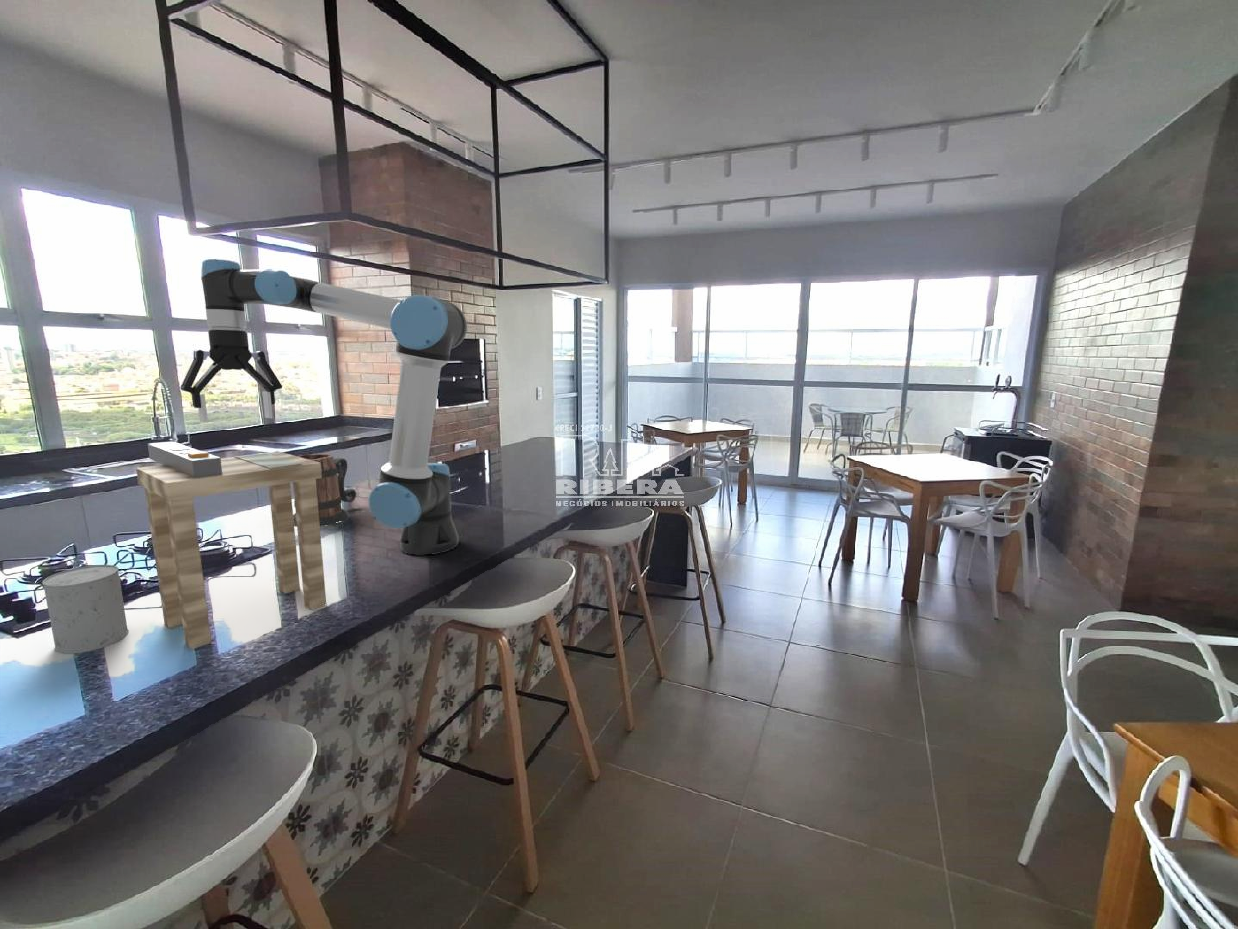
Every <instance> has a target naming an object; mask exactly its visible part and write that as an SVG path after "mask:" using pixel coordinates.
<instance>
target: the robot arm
mask: <svg viewBox="0 0 1238 929" xmlns="http://www.w3.org/2000/svg"><path fill="white" fill-rule="evenodd" d="M200 268H201V269H200V270H201V272H200V273H201V276H200V278H201V279H200V280H201V284H202V291H203V295H204V296H203V297H204V304H205V305H204V306H205V307H204V308H205V314H206V322H207V324H206V325H207V327H208V328H210V329H209V330H208V332H207V333H208V341H209V351H206V350H202V349H194V350H193V360H192V362H191V364H190V366H189V368H188V370H187V373H186V375H185V377H184V379H183V380H182V383H181V385H180V390H181V391H183V392H188V393H190V395H191V400H192V401H191V402H192V406H193V408H194V409H198V417H199V422H200V423H209V419H208V411H207V403H206V394H205V393H201V392H202V391H203V390H204V389H205V388H206V387H207V385H208V384H210V382H211V381H212V379H213V378H214V377H215V376H216V375H217V374H218V373H219V372H220V371H221V370H225V371H231V370H237V371H241V370H243V371H244V372H246V373H247V374H248V375H249V376H250V377H251V378H252V379H254V380H255V381H256V382H257V383H258V384H259V385H260V386H261V387H262V388H263V389H265V390H264V391H262V401H263V402H262V403H263V411H264V412H263V413H264V418H266V419H273V418H274V417H273V408H272V407H273V406H272V405H275V404H276V397H275V392H276V391H277V390H280V389H282V388H283V384H282V383H281V382H280V380H279V379H278V377H277V376H276V373H275V372H274V371H273V369H272V367H271V366H270V365H269V363H268V361H267V359H266V355H265V352H264V351H262V350H258V351H257V350H256V351H252V352H251V351H250V348H249V347H250V345H249V338H248V332H247V331H246V330H245V329H247V328H248V327H247V319H246V318H247V317H246V311H245V310H246V308H245V305H246V304H247V305H248V304H251V305H252V304H254V305H270V306H277V307H285V308H293V309H297V310H304V311H308V312H312V313H318V314H322V315H327V316H331V317H334V318H335V317H336V318H340V319H344V320H349V321H353V322H358V323H362V324H367V325H369V326H370V325H372V326H376V327H380V328H382V329H383V328H384V329H388V330H391V334H393V336H394V339H395V340H396V346H395V353H396V355H397V356H398V357H399V359H400V360H401V365H400V373H399V379H398V380H399V381H398V387H397V397H396V405H395V411H394V412H395V413H394V419H393V427H392V436H391V442H390V452H389V458H388V461H387V462H386V463H385V464H383V465H382V466H381V469H380V475H379V482H378V484H377V485H376V486H375V487H373V489H372V490H371V492H370V493H369V496H368V507H369V510H370V514H371V515H372V516H373V518H375V519H376V521H377V522H378V523H380V524H381V525H383V526H385V527H386V528H391V529H396V530H398V529H402V532H401V537H400V539H399V548H400V549H401V550H400V551H401V552H402V551H403V552H402V553H404V552H407V553H409V554H408V555H411V554H416V555H415V556H424V555H423V554H432V553H437V552H443V551H446V550H449V549H451V548H453V547H454V546H457V545H458V543H459V544H460V539H459V538H460V537H459V534H458V531H457V527H456V526H455V523H454V521H453V517H452V499H451V498H452V495H451V475H450V467H449V466H448V464H446V463H441V462H429V456H430V455H429V454H430V449H431V448H430V447H431V440H432V435H433V434H432V433H433V426H434V420H435V419H434V418H435V414H436V413H435V412H436V404H437V398H438V390H439V386H440V384H439V383H440V376H441V370H442V368H443V367H444V366H445V365H446V364H448V363H449V362H450V356H451V350H453V349H455V348H456V347H458V346H459V345H460V344H461V343H462V342H463V341H464V339H466V335H467V332H468V324H467V323H468V321H467V319H466V316H465V315H464V312H463V311H462V310H461V309H460V308H459V307H458V306H457V305H455V304H454V303H452V302H450V301H447V300H442V299H439V298H436V297H434V296H430V295H423V294H415V295H409V296H407V297H404V298H402V299H398V298H393V297H388V296H384V295H379V294H374V293H370V292H366V291H362V290H356V289H352V288H346V287H343V286H339V285H333V284H330V283H324V282H320V281H316V280H315V281H314V280H312V279H308V278H301V277H296V276H291V275H289V273H288V272H286V270H285V271H284V270H280V269H271V268H267V269H241V264H240V263H238V262H237V261H235V260H229V259H224V258H223V259H222V258H221V259H219V258H204V259H203V260H202V261H201V262H200ZM208 357H209V359H211V361H213V362H212V364H210V366H209V367H208V369H207V370H206V371H205V372H204V374H203V375H202V376H201V377H200V378H199V379H198V380H197V381H196V383H195V380H196V378H197V376H198V374H199V372H200V370H201V367H202V366H203V363H204V361H206V360H207V358H208ZM251 359H253V360H254V361H256V363H257V364H258V366H259V367H260V369H261V371H262V372H263V373H264V375H265V377H266V378H267V379H265V378H264V376H263V375H262V374H261V373H260V372H258V371H257V370H256V368H255V367H254V366H252V364H251V363H250V360H251ZM194 383H195V384H194ZM458 546H459V545H458ZM417 554H418V555H417Z"/></svg>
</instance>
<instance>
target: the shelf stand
mask: <svg viewBox="0 0 1238 929" xmlns="http://www.w3.org/2000/svg"><path fill="white" fill-rule="evenodd" d="M297 456H298V455H293V454H290V453H285V452H282V451H278V452H276V451H275V452H269V453H268V452H267V453H265V452H264V453H255V454H254V453H253V454H246V455H237V456H233V457H223V458H221V467H222V475H216V476H208V477H200V478H193V477H190V476H188V475H186V474H184V473H181V472H179V471H177V470H174V469H172V468H170V467H167V466H165V465H163V464H161V465H160V464H159V465H153V466H152V465H151V466H150V465H149V466H142V467H136V468H135V472H136V477H137V483H138V485H139V486H141V487H142V488H144V491H145V498H146V507H147V513H148V521H149V528H150V534H151V539H152V546H153V548H152V549H153V554H154V560H155V568H156V573H157V580H158V581H157V582H158V587H159V588H158V590H159V594H160V601H161V602H160V603H161V609H162V616H163V622H164V624H165V625H166V627H167V628H169V629H173V628H176V627H179V626H182V629H183V636H184V638H183V639H184V644H185V645H186V646H187V647H188V649H190V650H194V649H196V648H200V647H203V646H206V645H208V644H209V645H210V644H211V643H212V636H211V629H210V628H211V627H210V621H209V620H210V619H209V614H208V606H207V597H206V589H205V584H204V583H205V582H204V574H203V566H202V560H201V551H200V543H199V537H198V536H199V535H198V529H197V528H198V527H197V520H196V513H195V512H196V511H195V506H194V498H199V497H205V496H212V495H219V494H224V493H225V494H226V493H232V492H237V491H238V492H239V491H244V490H245V491H246V490H249V489H250V490H251V489H257V488H264V487H268V490H269V491H268V493H269V501H270V510H271V520H272V522H271V523H272V531H273V533H272V534H273V540H274V542H273V543H274V552H275V558H276V560H275V561H276V570H277V571H276V572H277V579H278V589H279V591H280V592H282V593H284V594H285V595H286V594H288V593H289V594H290V593H292V592H295V591H300V590H301V585H302V593H303V594H302V595H303V604H304V607H305V608H308V609H309V608H310V609H309V610H311V609H312V610H314V609H313V608H315V609H317V608H316V607H318V608H320V606H321V607H323V605H324V606H326V605H327V597H326V596H327V595H326V585H325V583H326V582H325V573H324V562H323V560H324V559H323V550H322V537H321V528H320V527H321V526H320V524H319V512H318V500H317V488H316V479H317V478H322V475H321V463H319V462H316V461H312V460H308V459H305V458H301V457H297ZM291 483H292V486H293V495H294V501H295V507H294V508H295V513H296V520H297V527H296V529H297V530H296V529H295V526H294V519H293V515H294V512H293V502H292V501H293V499H292V489H291V488H292V487H291ZM295 530H296V531H297V539H298V540H297V541H296V532H295ZM297 542H298V549H299V550H298V551H299V552H298V551H297ZM297 552H298V553H299V561H300V562H299V563H300V572H301V583H302V584H301V585H300V576H299V575H300V573H299V563H298V553H297ZM325 604H326V605H325Z"/></svg>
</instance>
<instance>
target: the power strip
mask: <svg viewBox="0 0 1238 929" xmlns="http://www.w3.org/2000/svg"><path fill="white" fill-rule="evenodd" d="M147 450H148V455H149V460H151V461H154V462H156V463H159V465H160V464H161V465H165V466H167V467H170V468H172V469H174V470H177V471H179V472H181V473H184V474H186V475H188V476H190V477H193V478H200V477H208V476H216V475H222V467H221V459H222V458H221V457H220V456H217V455H214V454H211V453H209V452H207V451H203V450H199V449H197V448H194V447H193V448H192V447H190V446H188V445H184V444H181V443H179V442H175V441H165V442H164V441H162V442H151V443H150V442H149V443H147Z"/></svg>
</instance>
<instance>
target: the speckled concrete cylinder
mask: <svg viewBox="0 0 1238 929" xmlns="http://www.w3.org/2000/svg"><path fill="white" fill-rule="evenodd" d="M41 583H42V586H43V589H44V595H45V601H46V605H47V610H48V617H49V622H50V626H51V632H52V633H51V634H52V638H53V643H54V651H55V652H56V653H58V654H64V655H71V654H74V655H75V654H80V653H81V654H82V653H87V652H92V651H95V650H99V649H103V648H106V647H108V646H111V645H113V644H115V643H118V642H119V641H121V640H123V639H124V638H125V637H127V635H128V634H129V629H128V624H127V618H126V617H127V616H126V612H125V604H124V599H123V592H122V586H121V580H120V573H119V567H118V566H116V565H114V564H113V565H112V564H95V565H87V566H81V567H80V566H79V567H76V568H71V569H66V570H64V571H60V572H57V573H55V574H51V575H50V576H47V577H45V578H44V579H43V580H42V582H41Z"/></svg>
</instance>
